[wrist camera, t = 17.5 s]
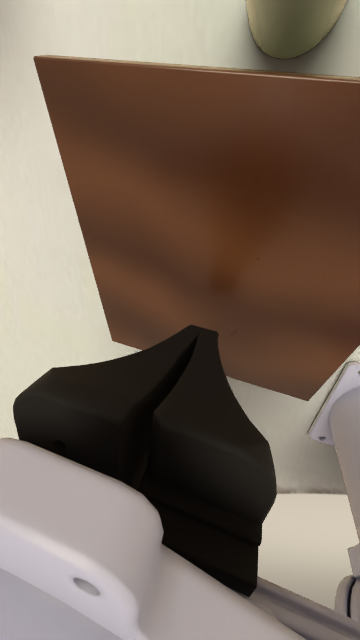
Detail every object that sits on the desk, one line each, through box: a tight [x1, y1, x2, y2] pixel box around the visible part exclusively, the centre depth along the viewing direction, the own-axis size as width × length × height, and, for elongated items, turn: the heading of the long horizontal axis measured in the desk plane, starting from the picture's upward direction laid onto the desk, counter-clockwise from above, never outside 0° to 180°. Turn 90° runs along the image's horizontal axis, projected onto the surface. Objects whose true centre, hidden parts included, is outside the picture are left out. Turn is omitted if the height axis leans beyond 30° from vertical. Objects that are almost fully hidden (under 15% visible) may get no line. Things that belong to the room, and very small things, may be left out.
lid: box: [34, 55, 360, 401], centre depth 12 cm, size 14×13×1 cm
